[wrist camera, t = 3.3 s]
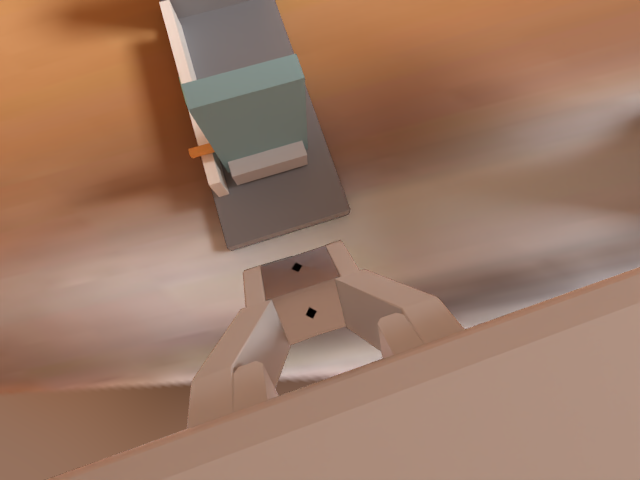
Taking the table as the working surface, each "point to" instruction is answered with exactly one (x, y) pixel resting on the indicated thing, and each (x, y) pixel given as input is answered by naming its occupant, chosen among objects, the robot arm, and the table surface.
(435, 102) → the table surface
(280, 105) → the block
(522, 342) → the robot arm
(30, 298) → the table surface
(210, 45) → the bench
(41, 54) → the table surface
